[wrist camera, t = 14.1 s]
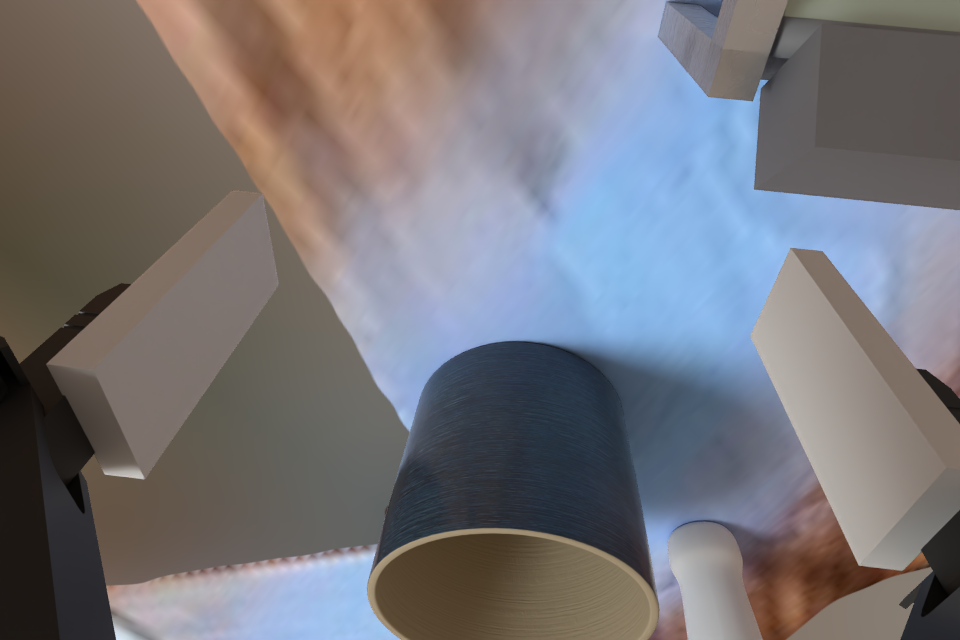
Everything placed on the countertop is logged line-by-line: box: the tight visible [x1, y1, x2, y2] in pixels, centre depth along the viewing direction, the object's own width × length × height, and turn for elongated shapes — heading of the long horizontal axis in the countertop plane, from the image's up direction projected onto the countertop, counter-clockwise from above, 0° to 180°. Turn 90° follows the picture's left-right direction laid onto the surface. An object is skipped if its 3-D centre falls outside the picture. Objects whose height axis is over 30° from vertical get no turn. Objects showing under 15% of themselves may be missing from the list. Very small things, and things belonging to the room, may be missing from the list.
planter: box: [367, 342, 659, 640], centre depth 51 cm, size 22×22×20 cm
